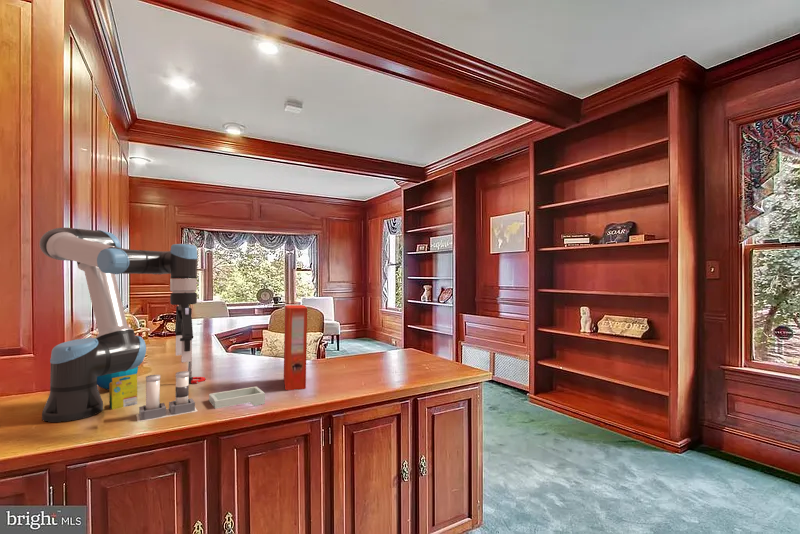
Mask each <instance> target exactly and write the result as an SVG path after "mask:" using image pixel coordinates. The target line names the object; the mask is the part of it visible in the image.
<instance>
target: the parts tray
mask: <svg viewBox="0 0 800 534" xmlns="http://www.w3.org/2000/svg"><path fill="white" fill-rule="evenodd" d="M208 401H209V403H210V404H211V405H212V407H213V408H214V409H220V408H225V407H231V406H232V407H233V406H238V405H245V404H249V403H250V404H251V405H253V407H255V406H256V407H257V406H260V405H261V404H262V405H265V404H266V393H265V392H264V391H263V390H262V389H260V388H259V387H258V386H257V385H256V386H251V387H244V388H238V389H232V390H225V391H220V392H213V393H209V394H208ZM262 405H261V406H262Z"/></svg>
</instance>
